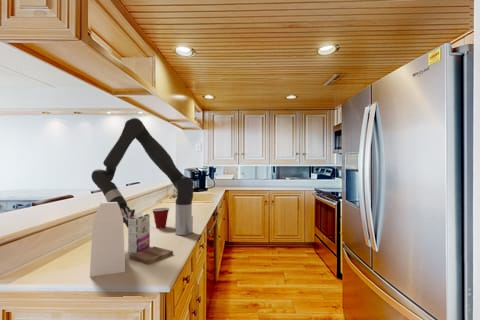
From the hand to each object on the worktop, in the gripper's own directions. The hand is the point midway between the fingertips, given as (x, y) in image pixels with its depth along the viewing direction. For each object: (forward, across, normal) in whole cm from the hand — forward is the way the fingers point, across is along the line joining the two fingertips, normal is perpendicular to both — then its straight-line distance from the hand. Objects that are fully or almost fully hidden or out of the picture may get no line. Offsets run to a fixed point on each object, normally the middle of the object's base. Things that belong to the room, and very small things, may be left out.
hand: (131, 227), depth 133 cm
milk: (+17, -21, -3) cm, 27 cm away
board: (+20, -3, -6) cm, 21 cm away
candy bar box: (+11, 0, +3) cm, 12 cm away
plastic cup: (-6, +36, +20) cm, 42 cm away
